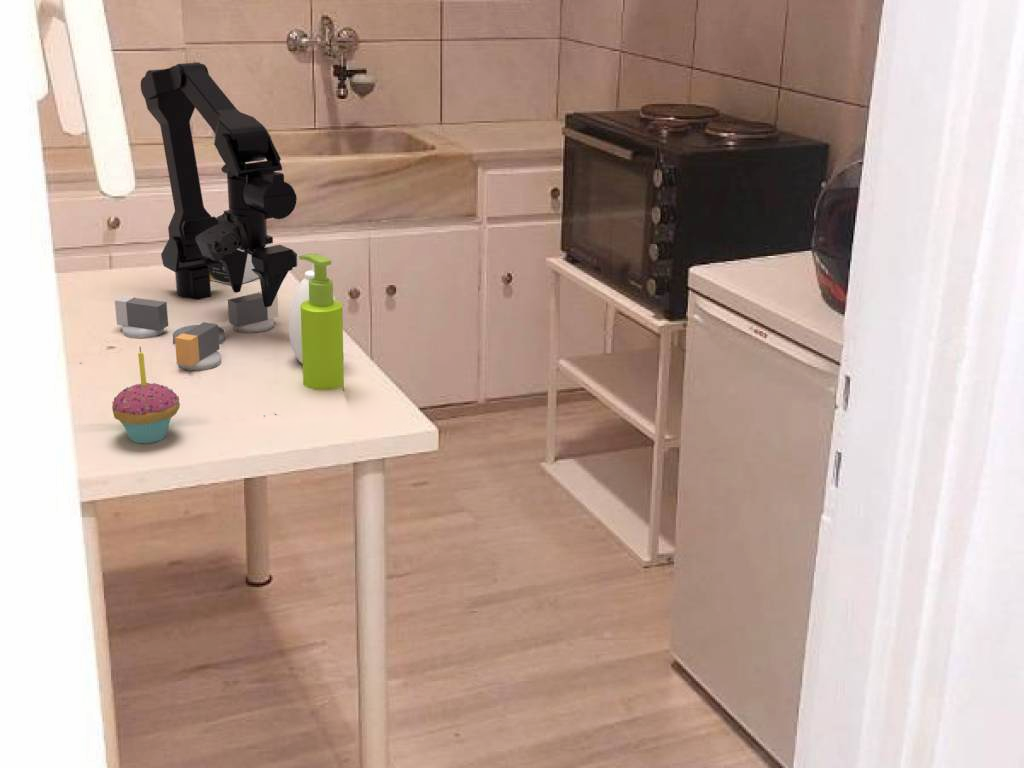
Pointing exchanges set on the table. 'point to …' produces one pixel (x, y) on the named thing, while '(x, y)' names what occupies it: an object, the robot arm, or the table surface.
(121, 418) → the cupcake
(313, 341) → the soap dispenser
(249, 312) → the knob
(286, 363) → the table surface
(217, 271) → the medicine bottle
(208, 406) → the table surface
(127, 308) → the knob near
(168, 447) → the table surface
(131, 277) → the table surface
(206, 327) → the knob
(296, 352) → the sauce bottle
